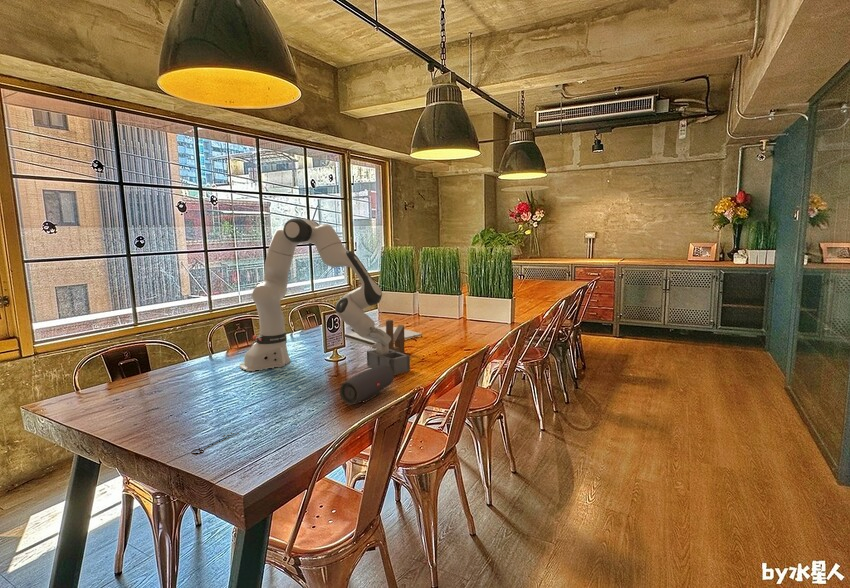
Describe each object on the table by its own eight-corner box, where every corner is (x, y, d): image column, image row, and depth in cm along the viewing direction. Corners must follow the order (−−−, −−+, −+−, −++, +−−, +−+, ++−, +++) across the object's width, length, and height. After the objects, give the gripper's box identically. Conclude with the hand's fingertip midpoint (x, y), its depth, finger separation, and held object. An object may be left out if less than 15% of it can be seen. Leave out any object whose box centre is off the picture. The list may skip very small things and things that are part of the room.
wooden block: (404, 352, 228) (404, 317, 225) (390, 357, 220) (389, 321, 217) (399, 351, 230) (398, 316, 228) (384, 356, 222) (383, 320, 219)
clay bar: (381, 358, 203) (381, 337, 201) (376, 357, 206) (375, 335, 204) (388, 357, 205) (388, 335, 204) (383, 355, 208) (383, 334, 207)
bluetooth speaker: (359, 410, 157) (358, 382, 155) (338, 405, 161) (337, 378, 160) (395, 389, 176) (395, 365, 175) (376, 386, 181) (375, 361, 179)
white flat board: (372, 344, 238) (340, 334, 260) (372, 349, 238) (340, 338, 261) (421, 333, 261) (388, 325, 284) (421, 337, 261) (388, 329, 284)
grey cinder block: (391, 376, 193) (391, 360, 192) (367, 366, 206) (366, 351, 205) (409, 370, 199) (409, 355, 198) (385, 361, 213) (384, 347, 212)
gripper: (382, 324, 190) (401, 342, 198) (356, 317, 206) (374, 334, 213) (374, 336, 188) (393, 354, 196) (348, 328, 203) (366, 345, 211)
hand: (383, 344), depth 205 cm, fingers closed on clay bar, 4 cm apart
